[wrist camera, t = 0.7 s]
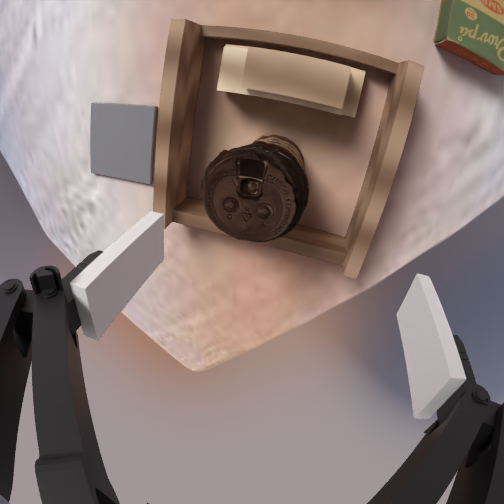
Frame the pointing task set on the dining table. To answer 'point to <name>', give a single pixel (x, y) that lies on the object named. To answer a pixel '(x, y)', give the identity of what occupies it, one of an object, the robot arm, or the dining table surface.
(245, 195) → the coffee cup
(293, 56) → the offcut stack
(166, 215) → the brown wooden tray
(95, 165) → the coaster
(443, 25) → the carton
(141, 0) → the dining table surface
